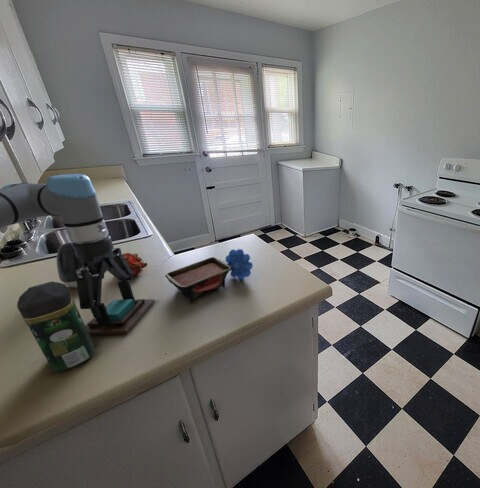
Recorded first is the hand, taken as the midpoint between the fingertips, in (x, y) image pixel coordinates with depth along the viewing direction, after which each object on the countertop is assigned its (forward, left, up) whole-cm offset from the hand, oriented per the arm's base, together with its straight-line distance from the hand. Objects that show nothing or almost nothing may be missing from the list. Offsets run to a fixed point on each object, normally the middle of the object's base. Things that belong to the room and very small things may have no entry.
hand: (118, 312), depth 76 cm
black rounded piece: (-24, +20, -2) cm, 31 cm away
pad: (0, 0, -1) cm, 1 cm away
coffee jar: (-2, -14, -2) cm, 14 cm away
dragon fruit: (-11, +26, -2) cm, 28 cm away
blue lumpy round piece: (+30, +20, -2) cm, 36 cm away
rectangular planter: (+18, +14, -2) cm, 23 cm away
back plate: (0, 0, -2) cm, 2 cm away
